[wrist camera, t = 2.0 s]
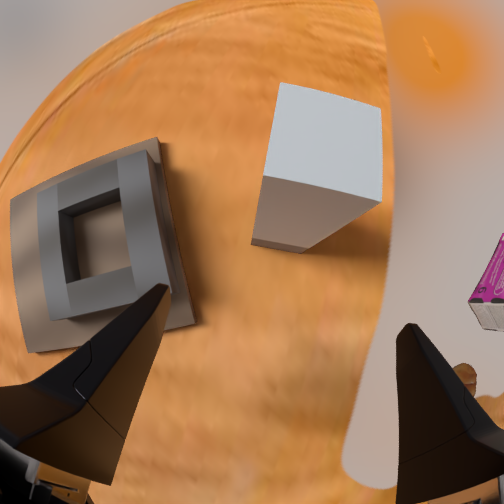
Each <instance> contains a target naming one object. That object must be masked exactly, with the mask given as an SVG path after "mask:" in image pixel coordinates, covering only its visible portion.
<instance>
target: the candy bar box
mask: <svg viewBox="0 0 504 504" xmlns="http://www.w3.org/2000/svg"><path fill="white" fill-rule="evenodd" d="M468 304H469V306H470V307H471V309H472V311H473V312H474V314H475V315H476V317H477V319H478V321H479V323H480V325H481V326H482V328H483V329H486V330H494V331H503V332H504V233H503V234H502V236H501V238H500V240H499V243H498V245H497V247H496V249H495V251H494V254H493V256H492V258H491V260H490V262H489V264H488V266H487V268H486V270H485V272H484V274H483V276H482V278H481V279H480V281H479V283H478V285H477V287H476V288H475V290H474V292H473V294H472V295H471V297H470V299H469V300H468Z"/></svg>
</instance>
